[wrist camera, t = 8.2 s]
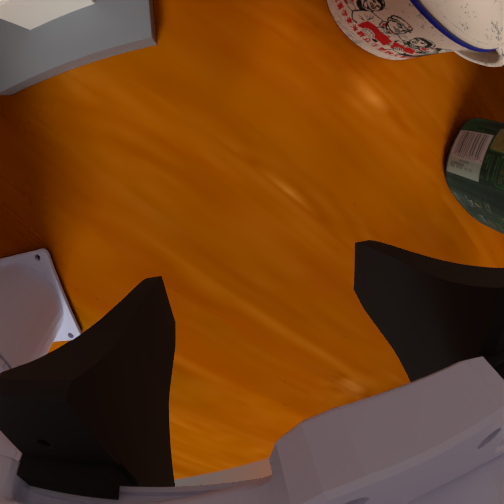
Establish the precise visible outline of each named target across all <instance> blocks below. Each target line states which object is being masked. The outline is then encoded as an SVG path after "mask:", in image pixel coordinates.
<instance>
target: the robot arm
mask: <svg viewBox="0 0 504 504" xmlns="http://www.w3.org/2000/svg"><path fill="white" fill-rule="evenodd" d="M37 255H39V256H40V259H39V258H38V257H37ZM354 290H355V292H356V294H357V296H358V298H359V300H360V302H361V304H362V306H363V308H364V309H365V311H366V312H367V314H368V315H369V316H370V318H371V319H372V320H373V322H374V323H375V325H376V326H377V327H378V329H379V330H380V331H381V333H382V334H383V335H384V337H385V338H386V340H387V341H388V342H389V344H390V345H391V346H392V348H393V349H394V351H395V353H396V354H397V356H398V358H399V360H400V361H401V363H402V365H403V367H404V369H405V371H406V373H407V375H408V377H409V379H410V381H411V382H410V383H408V384H405V385H402V386H400V387H397V388H394V389H392V390H389V391H386V392H383V393H380V394H377V395H374V396H371V397H368V398H365V399H362V400H358V401H355V402H352V403H349V404H345V405H342V406H338V407H335V408H332V409H330V410H328V411H325V412H323V413H320V414H318V415H316V416H313V417H310V418H308V419H305V420H303V421H302V422H300V423H299V424H298V425H297V426H295V427H294V428H293V429H291V430H290V431H289V432H287V433H286V434H285V435H283V436H282V437H281V438H280V439H279V440H278V441H277V442H276V443H275V446H274V448H273V451H272V454H271V456H270V459H269V460H270V464H271V470H272V475H270V476H267V477H264V478H259V479H253V480H247V481H239V482H232V483H222V484H212V485H200V486H183V487H175V483H174V476H173V467H172V458H171V447H170V431H169V392H170V383H171V375H172V368H173V360H174V352H175V320H174V317H173V314H172V310H171V307H170V304H169V300H168V297H167V294H166V290H165V287H164V283H163V280H162V276H159V277H153V278H147V279H144V280H143V281H142V282H141V283H139V284H138V285H137V286H136V287H135V288H134V289H133V290H132V291H131V292H130V293H129V294H128V295H127V296H126V297H125V298H124V299H123V300H122V301H121V302H119V303H118V304H117V305H116V306H115V307H114V308H113V309H112V310H111V311H109V312H108V313H107V314H106V315H105V316H104V317H103V318H102V319H100V320H99V321H98V322H97V323H96V324H94V325H93V326H92V327H90V328H89V329H88V330H86V331H85V332H83V333H82V332H81V329H80V327H79V325H78V323H77V321H76V319H75V316H74V314H73V312H72V310H71V307H70V305H69V303H68V300H67V298H66V296H65V293H64V291H63V288H62V286H61V283H60V281H59V278H58V276H57V273H56V270H55V268H54V265H53V262H52V259H51V257H50V254H49V252H48V251H47V250H46V249H44V248H42V249H38V250H34V251H29V252H25V253H21V254H17V255H13V256H9V257H5V258H1V259H0V504H504V268H488V267H478V266H469V265H462V264H457V263H452V262H447V261H442V260H438V259H434V258H431V257H427V256H424V255H420V254H417V253H414V252H410V251H407V250H404V249H401V248H398V247H395V246H392V245H388V244H385V243H381V242H377V241H372V240H368V241H362V242H357V243H355V276H354ZM70 333H71V334H73V335H71V334H70ZM67 340H71V341H69V342H68V343H66V344H64V345H63V346H61V347H59V348H58V349H56V350H54V351H52V352H50V353H48V351H49V349H50V347H51V345H52V343H53V342H54V341H67ZM47 353H48V354H47Z"/></svg>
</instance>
